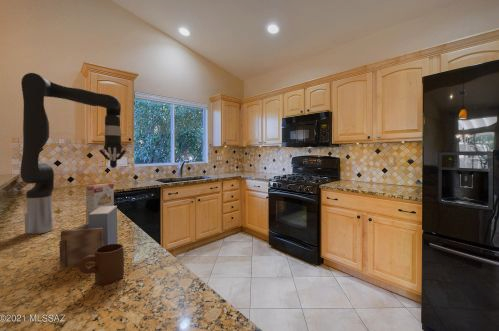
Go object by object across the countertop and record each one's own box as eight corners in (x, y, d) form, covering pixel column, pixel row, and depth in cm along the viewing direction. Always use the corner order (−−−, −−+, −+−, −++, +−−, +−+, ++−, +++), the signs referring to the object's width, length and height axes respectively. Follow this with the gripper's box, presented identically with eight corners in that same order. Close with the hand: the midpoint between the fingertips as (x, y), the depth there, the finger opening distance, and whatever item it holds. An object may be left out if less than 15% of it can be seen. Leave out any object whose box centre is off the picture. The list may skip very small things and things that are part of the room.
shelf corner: (60, 268, 77) (59, 232, 76) (94, 236, 107) (94, 210, 107) (101, 263, 80) (100, 229, 80) (123, 233, 111) (123, 209, 110)
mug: (85, 296, 62) (85, 261, 61) (72, 287, 66) (71, 255, 65) (129, 276, 72) (128, 246, 72) (115, 270, 76) (115, 241, 75)
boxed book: (89, 258, 85) (88, 214, 84) (101, 244, 98) (100, 206, 97) (108, 255, 86) (107, 213, 86) (117, 242, 100) (116, 205, 99)
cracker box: (95, 224, 126) (94, 186, 125) (85, 223, 127) (84, 185, 126) (114, 217, 140) (114, 183, 139) (106, 217, 141) (105, 182, 140)
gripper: (96, 134, 117) (96, 168, 118) (125, 134, 121) (125, 167, 122) (101, 135, 125) (101, 167, 125) (128, 135, 128) (128, 167, 129)
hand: (113, 167), depth 124 cm, fingers closed
